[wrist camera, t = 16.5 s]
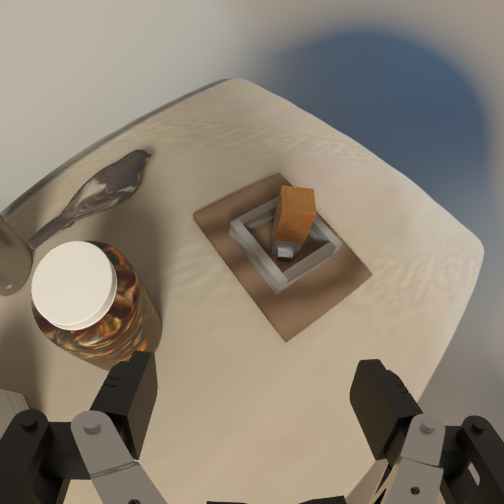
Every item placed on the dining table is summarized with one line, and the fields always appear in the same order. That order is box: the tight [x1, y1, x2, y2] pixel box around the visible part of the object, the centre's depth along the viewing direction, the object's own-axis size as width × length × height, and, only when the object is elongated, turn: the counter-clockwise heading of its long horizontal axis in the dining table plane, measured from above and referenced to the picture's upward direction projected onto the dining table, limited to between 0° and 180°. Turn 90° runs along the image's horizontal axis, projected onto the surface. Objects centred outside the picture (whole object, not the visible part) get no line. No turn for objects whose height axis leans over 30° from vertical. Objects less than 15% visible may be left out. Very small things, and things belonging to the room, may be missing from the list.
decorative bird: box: [28, 150, 151, 250], centre depth 43 cm, size 6×25×5 cm, turn 143°
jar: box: [31, 241, 162, 371], centre depth 30 cm, size 12×12×15 cm
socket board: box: [193, 173, 373, 343], centre depth 43 cm, size 22×16×4 cm
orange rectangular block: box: [271, 186, 316, 262], centre depth 40 cm, size 5×4×10 cm
